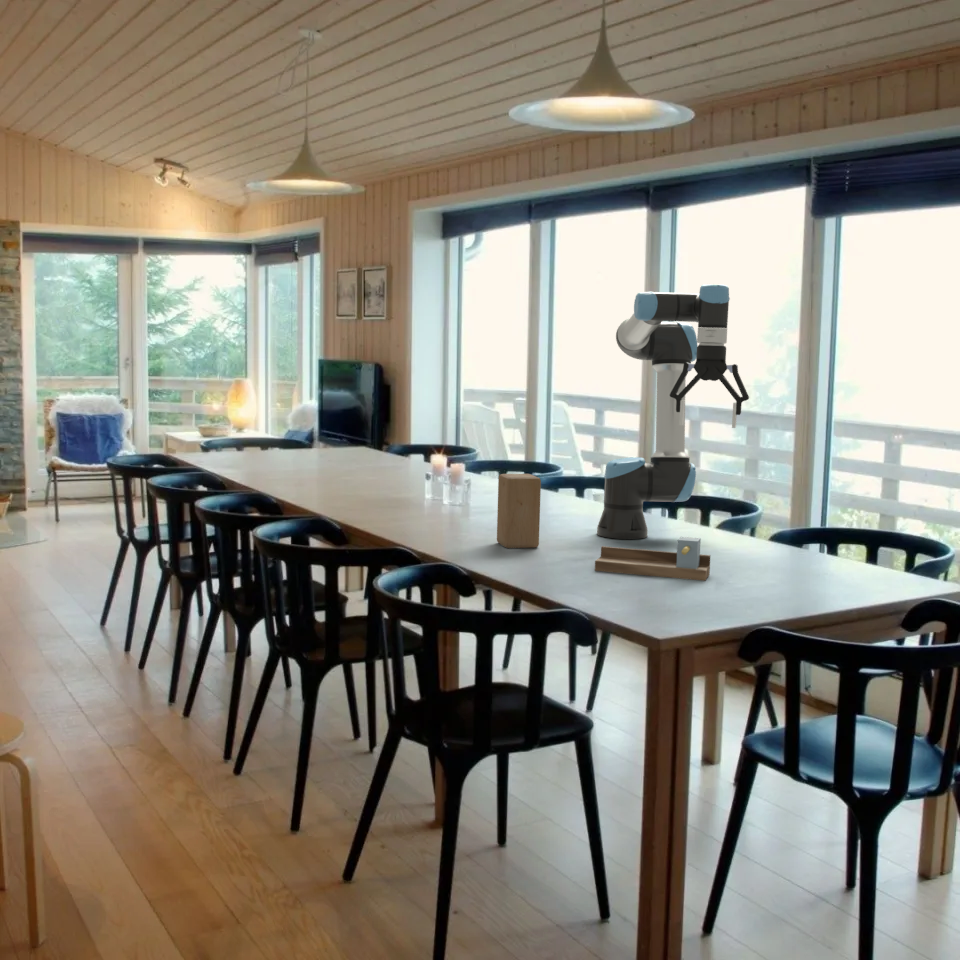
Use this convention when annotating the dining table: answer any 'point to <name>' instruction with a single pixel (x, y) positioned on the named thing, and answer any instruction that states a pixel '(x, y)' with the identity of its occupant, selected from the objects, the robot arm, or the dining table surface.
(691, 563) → the grey cube mallet
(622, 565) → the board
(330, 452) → the dining table surface
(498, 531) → the wooden block
